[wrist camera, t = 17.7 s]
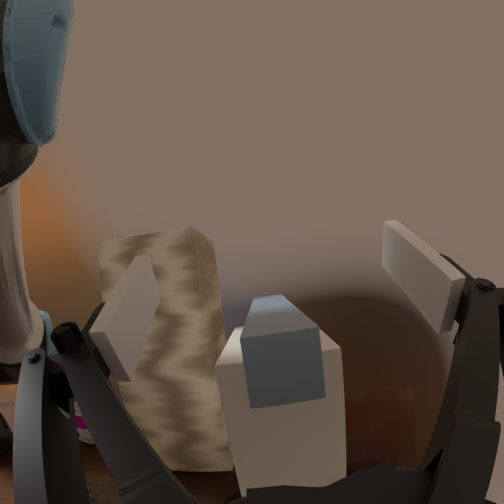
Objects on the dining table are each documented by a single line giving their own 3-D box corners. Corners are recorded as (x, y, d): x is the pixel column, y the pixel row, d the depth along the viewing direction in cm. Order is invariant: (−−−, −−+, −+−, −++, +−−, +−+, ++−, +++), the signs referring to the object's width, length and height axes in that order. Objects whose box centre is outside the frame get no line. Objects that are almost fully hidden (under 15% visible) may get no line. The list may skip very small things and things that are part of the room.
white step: (253, 541, 16) (214, 365, 18) (257, 460, 31) (235, 327, 33) (344, 529, 16) (340, 347, 18) (319, 452, 31) (306, 317, 32)
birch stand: (144, 468, 29) (97, 243, 32) (171, 425, 43) (141, 252, 46) (232, 470, 29) (192, 226, 32) (240, 423, 43) (213, 241, 46)
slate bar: (250, 408, 11) (239, 338, 11) (257, 323, 34) (254, 297, 34) (325, 397, 11) (318, 326, 11) (283, 319, 33) (280, 293, 34)
